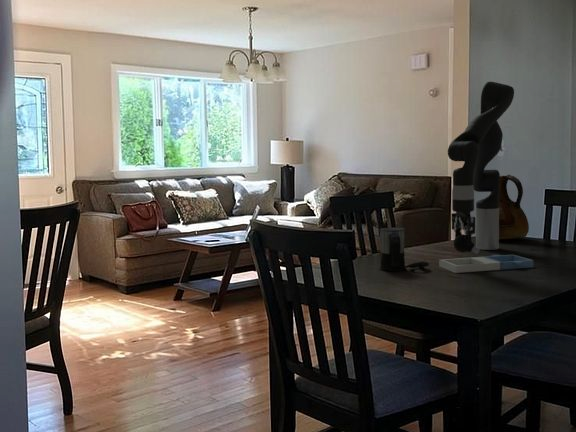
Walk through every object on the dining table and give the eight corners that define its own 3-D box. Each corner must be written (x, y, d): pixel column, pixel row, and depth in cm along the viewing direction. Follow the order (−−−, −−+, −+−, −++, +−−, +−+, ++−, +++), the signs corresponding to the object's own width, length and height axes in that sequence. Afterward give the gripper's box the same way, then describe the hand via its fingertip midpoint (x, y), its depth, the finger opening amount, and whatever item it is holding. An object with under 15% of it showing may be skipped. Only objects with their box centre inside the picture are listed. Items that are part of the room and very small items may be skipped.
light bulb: (480, 243, 227) (455, 230, 233) (472, 259, 228) (447, 247, 234) (486, 244, 232) (462, 232, 238) (478, 260, 233) (455, 247, 239)
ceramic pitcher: (492, 235, 314) (492, 173, 311) (535, 238, 301) (535, 173, 298) (475, 241, 299) (475, 175, 296) (519, 244, 286) (520, 175, 283)
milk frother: (375, 268, 241) (374, 228, 239) (413, 264, 245) (413, 225, 244) (393, 274, 227) (392, 232, 226) (433, 270, 232) (433, 229, 230)
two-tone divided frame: (436, 265, 241) (436, 258, 241) (510, 260, 247) (510, 253, 247) (457, 273, 225) (457, 266, 225) (536, 268, 231) (536, 260, 231)
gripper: (482, 199, 226) (482, 246, 228) (463, 195, 240) (463, 240, 242) (462, 200, 224) (462, 247, 226) (444, 196, 238) (444, 241, 240)
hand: (463, 243), depth 234 cm, fingers closed on light bulb, 7 cm apart
